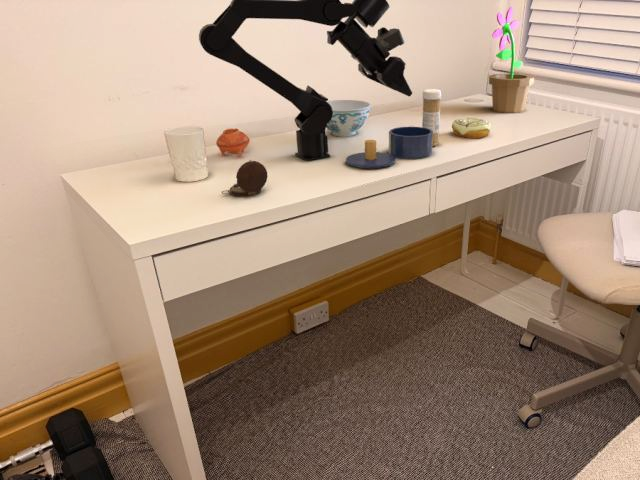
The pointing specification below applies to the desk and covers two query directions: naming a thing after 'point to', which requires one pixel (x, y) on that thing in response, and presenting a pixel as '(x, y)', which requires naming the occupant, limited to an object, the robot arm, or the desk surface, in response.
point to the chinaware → (347, 116)
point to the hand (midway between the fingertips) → (403, 91)
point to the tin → (410, 142)
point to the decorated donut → (471, 127)
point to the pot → (232, 141)
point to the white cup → (187, 152)
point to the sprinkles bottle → (432, 112)
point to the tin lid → (370, 157)
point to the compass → (249, 179)
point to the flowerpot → (510, 87)
